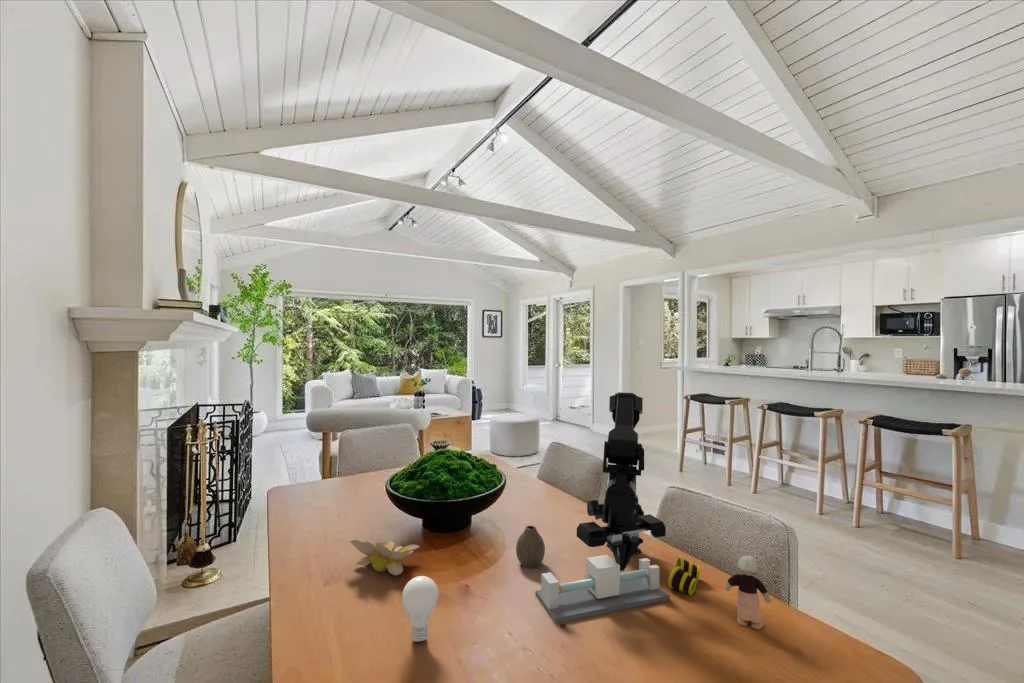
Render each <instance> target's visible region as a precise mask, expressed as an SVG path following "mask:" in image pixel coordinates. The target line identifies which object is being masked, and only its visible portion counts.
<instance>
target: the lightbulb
mask: <svg viewBox="0 0 1024 683" xmlns="http://www.w3.org/2000/svg"><path fill="white" fill-rule="evenodd" d="M438 600H439V588H438V585H437V584H436V582H435V581H434V580H433V579H432V578H431V577H428V576H426V575H417V576H415V577H413V578H412V579H410V580H408V582H407V583H406V584H405V586H404V587H403V590H402V594H401V603H402V607H403V609H404V610H405V612H406V613H407V615H408V617H409V620H410V625H411V639H412V641H414V642H416V643H421V642H423V641H426V639H427V637H428V623H429V621H430V617H431V613H432V612H434V611H433V610H434V609H435V608H436V606H437V603H438Z"/></svg>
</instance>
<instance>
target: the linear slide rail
mask: <svg viewBox="0 0 1024 683" xmlns="http://www.w3.org/2000/svg"><path fill="white" fill-rule="evenodd" d="M540 580H541V585H540V586H541V588H540V589H538V590H535V597H536V598H537V600H538V602H540V604H541V606H542V607H543V608H544V609H545V611H546V612H547V614H548V615H549V617H550V618H551V620H552V621H553V622H554V624H560V622H561V623H564V622H565V623H566V622H569V621H574V620H581V619H584V618H590V617H593V616H599V615H603V614H604V615H605V614H608V613H613V612H618V611H622V610H628V609H631V608H632V609H633V608H636V607H641V606H646V605H650V604H651V605H653V604H656V603H661V602H665V601H670V600H671V599H670V598H671V594H669V593H668V592H667V591H665V590H664V589H663V588H662V587H660V566H659V565H657V564H653V565H651V560H650V559H649V558H648V557H645V558H639V559H638V570H631V571H626V572H625V571H623V572H620V587H619V595H615V596H610V597H605V598H600V599H598V598H597V597H596V596H595V595H594V594H593V593H592V592H591V591H590V590H589V589H588V588H591V587H595V579H594V578H591V579H586V578H585V579H579V580H576V581H568V582H564V583H563V582H562V583H560V582H559V580H558V579H557V578H556V577H555V575H554V574H553V573H552V572H550V571H549V572H544V573H541V579H540Z"/></svg>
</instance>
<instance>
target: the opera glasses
mask: <svg viewBox="0 0 1024 683" xmlns="http://www.w3.org/2000/svg"><path fill="white" fill-rule="evenodd" d="M700 572H701V566H699V565H696V564H694V563H693V562H691V561H690V560H689V561H688V560H686V559H685V558H684V557H683V556H682V555H680V556H678V558H677V560H676V563H675V567H674V568H673V570H672V571H671V572H670V574H669V577H668V581H667V584H668V587H669V588H670V589H672V590H673V589H676V590H679V592H682V593H683V592H685V593H688V595H689V596H692V595H693V594H694V592H695V591H696V587H697V585H698V584H697V583H698V582H699V578H700Z"/></svg>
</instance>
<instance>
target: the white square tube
mask: <svg viewBox="0 0 1024 683" xmlns="http://www.w3.org/2000/svg"><path fill="white" fill-rule="evenodd" d="M585 562H586V563H585V579H591V578H594V579H595V587H591V588H588V589H589V590H590V591H591V592H592V593H593V594H594V595H595V596H596V597H597V598H598V599H600V598H605V597H610V596H615V595H619V587H620V573H621V571H620V565H619V564H617V563H616V561H615V559H613V558H611V556H609V555H608V554H603V555H597V556H589V557H586V558H585Z"/></svg>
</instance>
